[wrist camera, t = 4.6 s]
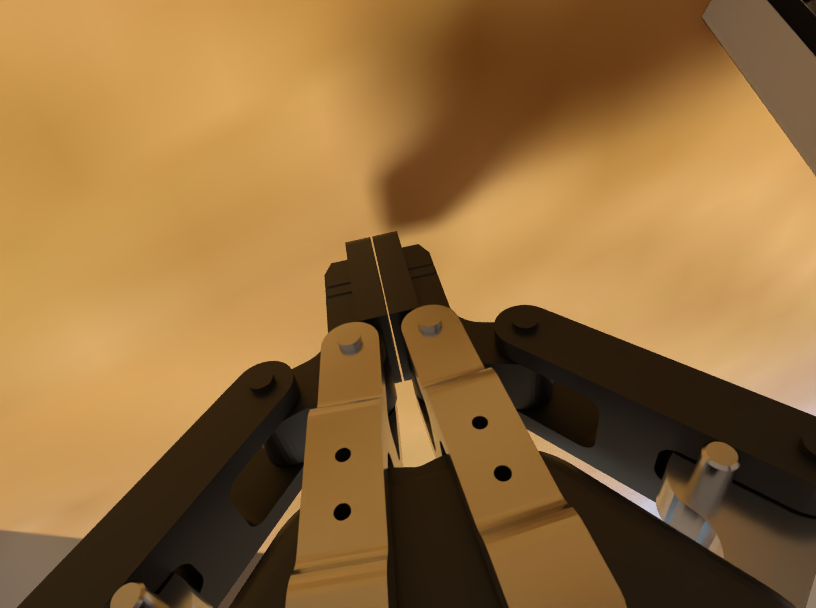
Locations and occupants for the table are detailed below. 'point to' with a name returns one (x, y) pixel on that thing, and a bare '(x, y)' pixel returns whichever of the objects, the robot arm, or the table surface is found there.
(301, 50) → the table surface
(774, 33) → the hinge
